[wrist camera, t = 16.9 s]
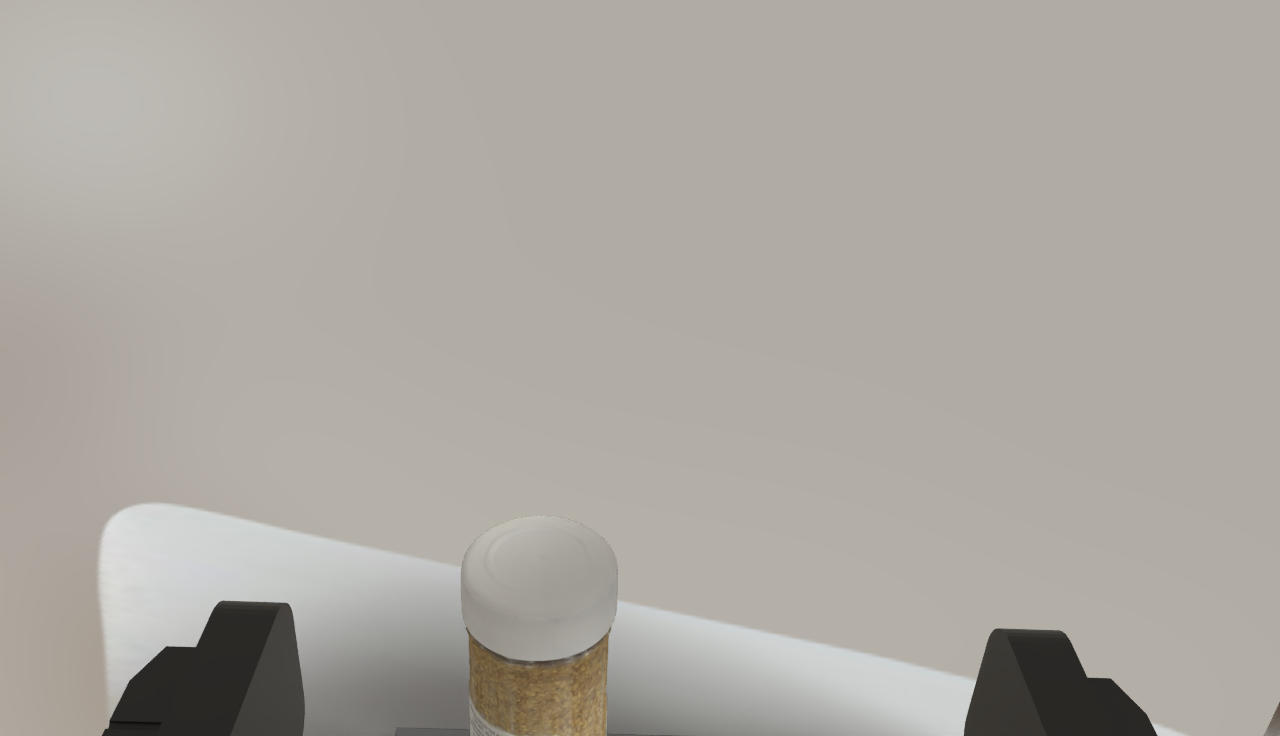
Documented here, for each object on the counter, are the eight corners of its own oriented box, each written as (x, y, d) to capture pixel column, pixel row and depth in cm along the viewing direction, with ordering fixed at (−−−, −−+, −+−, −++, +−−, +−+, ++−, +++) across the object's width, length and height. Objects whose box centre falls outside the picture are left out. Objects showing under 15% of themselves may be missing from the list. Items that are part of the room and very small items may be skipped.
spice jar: (630, 865, 40) (651, 566, 33) (523, 944, 37) (523, 636, 30) (549, 781, 42) (554, 490, 36) (445, 849, 40) (428, 548, 33)
